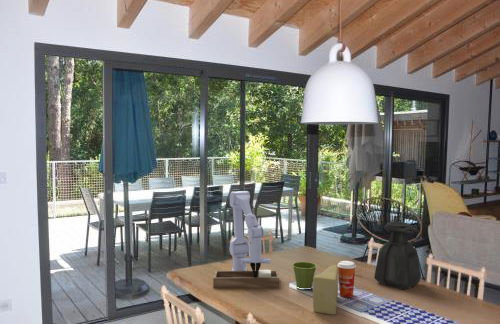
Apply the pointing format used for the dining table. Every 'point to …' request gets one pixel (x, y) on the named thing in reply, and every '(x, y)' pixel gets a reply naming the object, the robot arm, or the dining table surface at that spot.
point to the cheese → (326, 291)
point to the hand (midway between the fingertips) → (255, 277)
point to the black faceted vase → (398, 259)
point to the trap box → (244, 279)
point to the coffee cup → (346, 278)
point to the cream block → (264, 273)
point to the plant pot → (304, 274)
